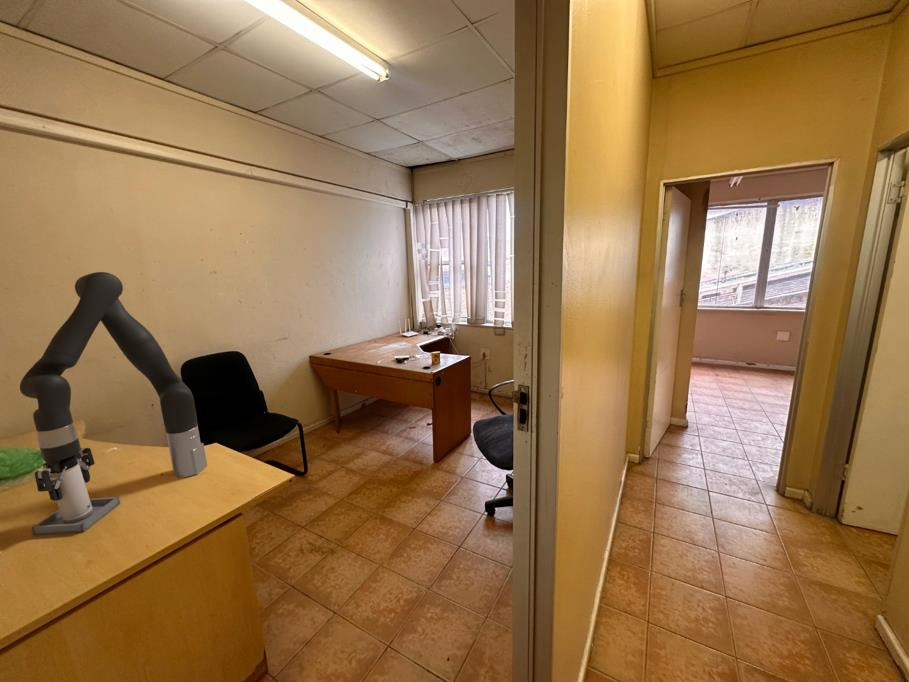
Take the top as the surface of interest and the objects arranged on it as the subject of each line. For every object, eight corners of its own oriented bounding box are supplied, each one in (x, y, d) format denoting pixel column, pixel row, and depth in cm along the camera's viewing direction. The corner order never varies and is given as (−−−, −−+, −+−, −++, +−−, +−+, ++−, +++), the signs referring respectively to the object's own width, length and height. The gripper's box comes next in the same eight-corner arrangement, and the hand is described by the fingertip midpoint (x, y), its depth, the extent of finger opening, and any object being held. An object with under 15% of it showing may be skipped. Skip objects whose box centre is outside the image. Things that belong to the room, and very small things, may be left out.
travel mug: (99, 510, 109) (81, 452, 104) (71, 525, 103) (51, 464, 98) (87, 506, 111) (69, 449, 106) (58, 521, 105) (38, 461, 100)
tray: (120, 503, 113) (118, 496, 113) (84, 532, 101) (82, 524, 101) (75, 506, 112) (73, 499, 112) (33, 535, 100) (30, 527, 100)
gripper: (47, 452, 95) (61, 505, 98) (95, 428, 109) (106, 476, 112) (17, 454, 94) (32, 507, 97) (69, 430, 108) (81, 477, 111)
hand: (72, 490), depth 105 cm, fingers open, 8 cm apart
